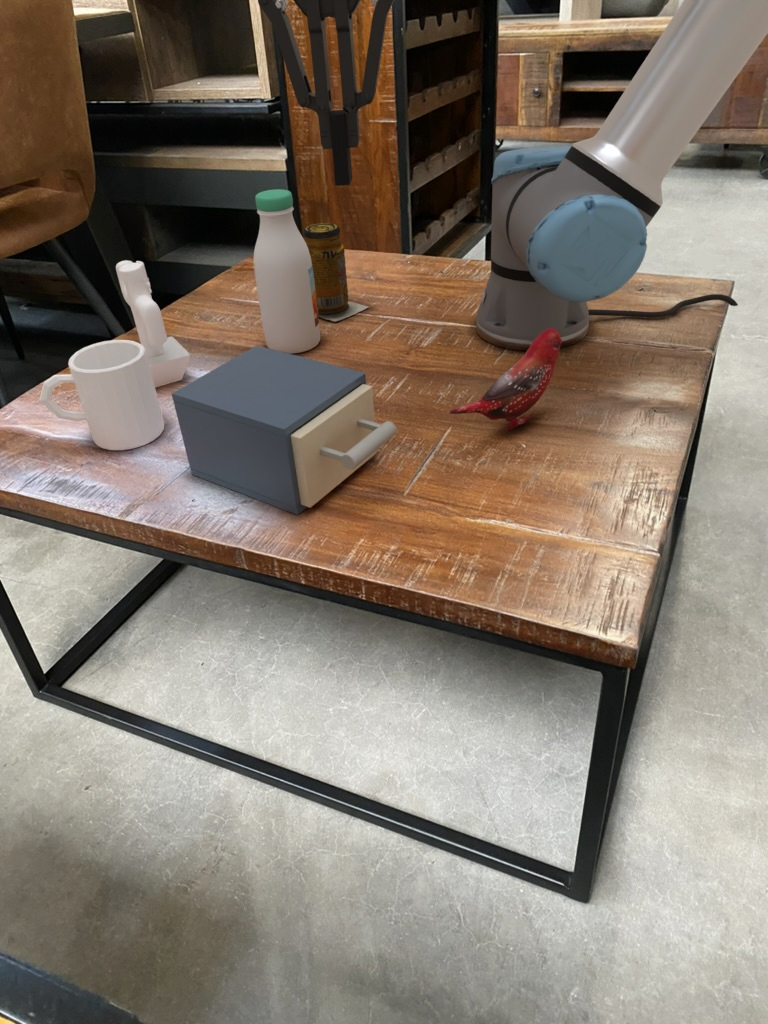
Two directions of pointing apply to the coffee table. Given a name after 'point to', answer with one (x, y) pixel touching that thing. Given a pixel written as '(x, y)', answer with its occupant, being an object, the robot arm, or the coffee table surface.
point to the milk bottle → (284, 277)
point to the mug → (112, 394)
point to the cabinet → (256, 420)
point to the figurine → (151, 325)
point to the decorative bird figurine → (520, 383)
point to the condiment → (329, 272)
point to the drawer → (337, 443)
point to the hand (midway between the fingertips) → (343, 181)
